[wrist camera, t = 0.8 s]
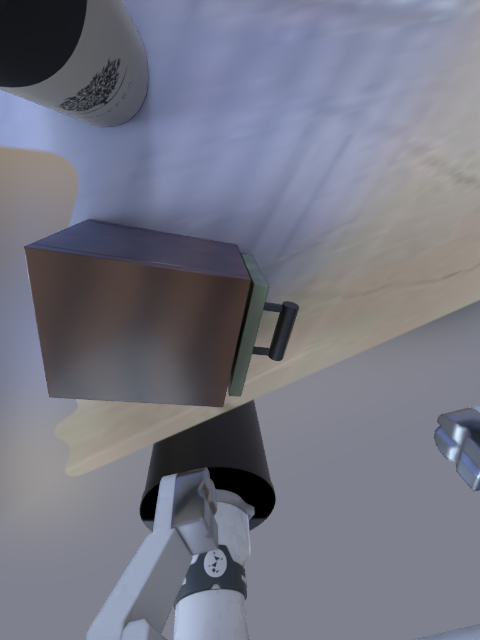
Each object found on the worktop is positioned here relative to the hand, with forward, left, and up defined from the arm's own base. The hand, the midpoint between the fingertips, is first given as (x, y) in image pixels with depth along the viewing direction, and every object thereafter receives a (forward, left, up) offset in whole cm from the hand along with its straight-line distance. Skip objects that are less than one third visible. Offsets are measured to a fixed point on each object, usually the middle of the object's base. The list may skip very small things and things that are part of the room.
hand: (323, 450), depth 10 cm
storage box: (-5, +8, -23) cm, 25 cm away
